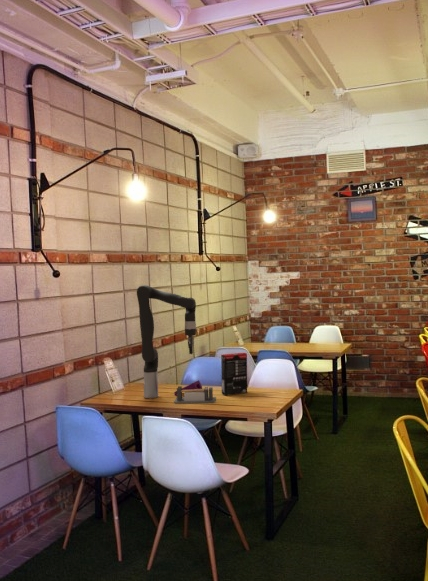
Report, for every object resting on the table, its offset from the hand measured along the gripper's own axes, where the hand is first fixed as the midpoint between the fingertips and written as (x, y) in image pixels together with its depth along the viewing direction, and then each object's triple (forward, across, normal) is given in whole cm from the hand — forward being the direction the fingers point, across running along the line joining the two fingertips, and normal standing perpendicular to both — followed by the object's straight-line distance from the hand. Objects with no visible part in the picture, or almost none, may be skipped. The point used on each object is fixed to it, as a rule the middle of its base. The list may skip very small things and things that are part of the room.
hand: (191, 353), depth 381 cm
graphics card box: (+29, -8, +28) cm, 41 cm away
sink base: (+29, +12, +3) cm, 31 cm away
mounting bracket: (+29, -7, -4) cm, 31 cm away
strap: (+23, +12, +2) cm, 26 cm away
